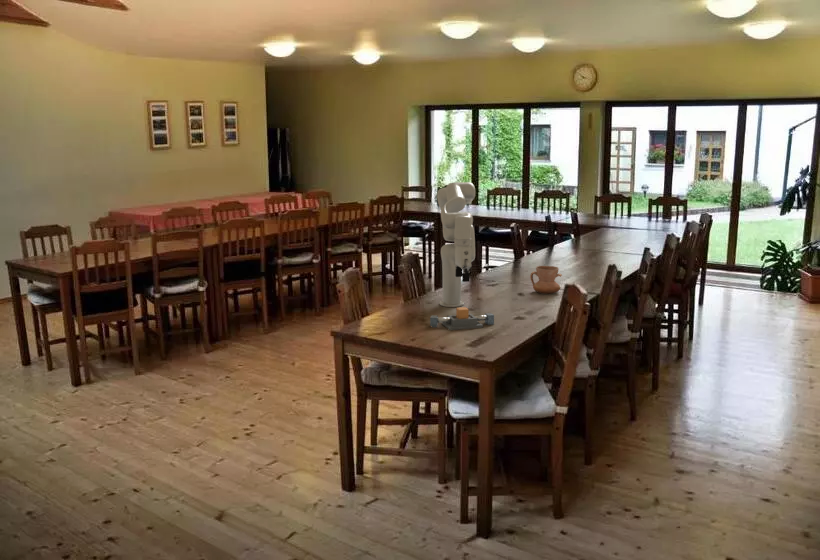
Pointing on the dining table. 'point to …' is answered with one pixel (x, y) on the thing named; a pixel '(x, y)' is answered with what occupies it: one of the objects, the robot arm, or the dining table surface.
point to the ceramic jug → (546, 279)
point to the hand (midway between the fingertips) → (462, 279)
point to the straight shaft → (486, 318)
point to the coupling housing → (462, 323)
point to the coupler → (462, 313)
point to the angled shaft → (438, 320)
